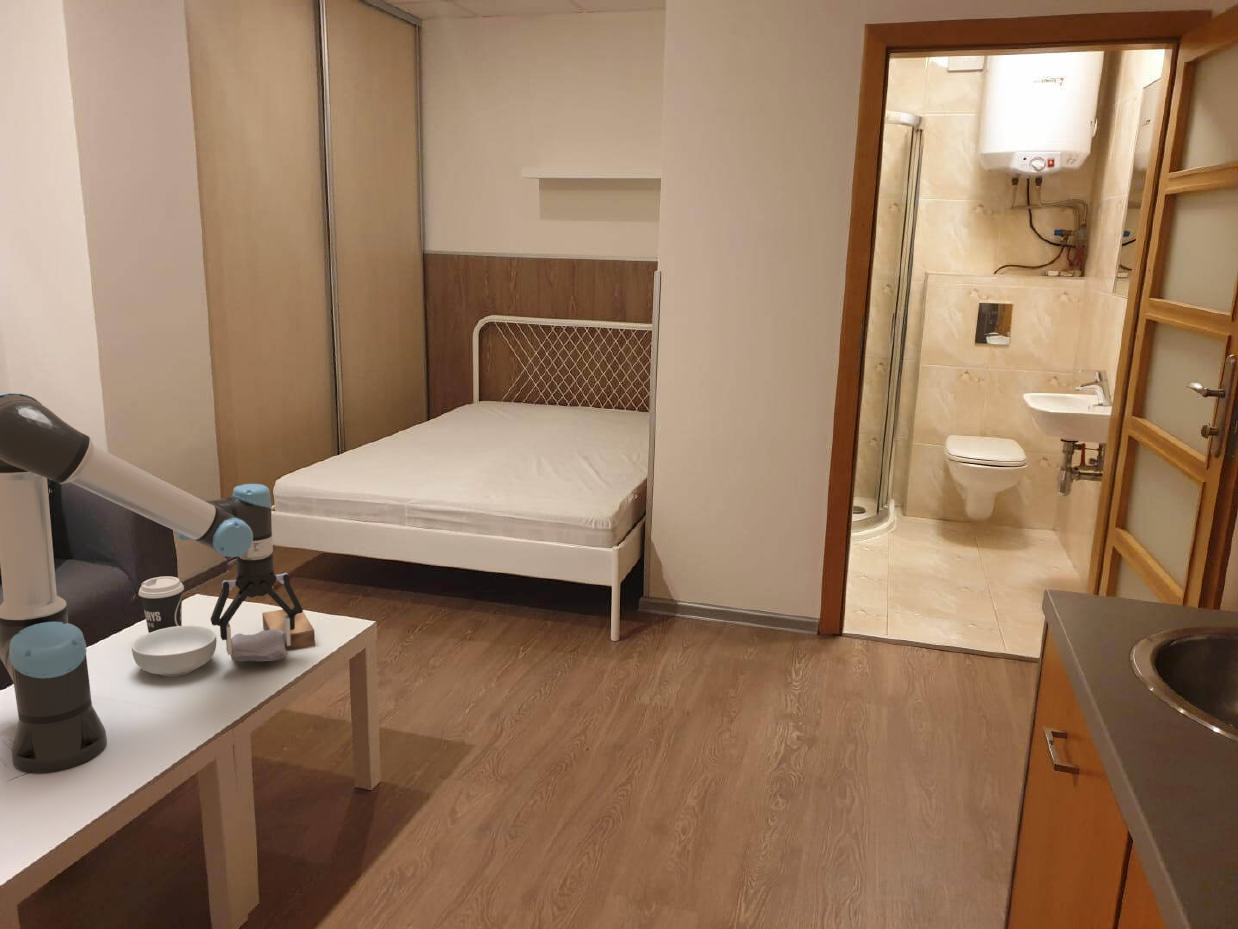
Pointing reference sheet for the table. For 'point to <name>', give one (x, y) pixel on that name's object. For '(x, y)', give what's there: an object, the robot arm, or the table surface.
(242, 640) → the stone block
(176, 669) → the cereal bowl
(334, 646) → the table surface
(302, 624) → the walnut plinth
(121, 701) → the table surface
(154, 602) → the coffee cup
